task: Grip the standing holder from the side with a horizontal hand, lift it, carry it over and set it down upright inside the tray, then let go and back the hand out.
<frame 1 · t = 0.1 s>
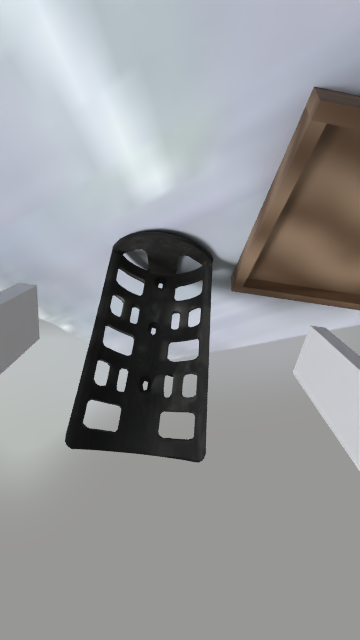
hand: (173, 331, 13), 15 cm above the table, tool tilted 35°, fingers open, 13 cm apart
tray: (354, 228, 25), on the table
holder: (165, 260, 31), on the table
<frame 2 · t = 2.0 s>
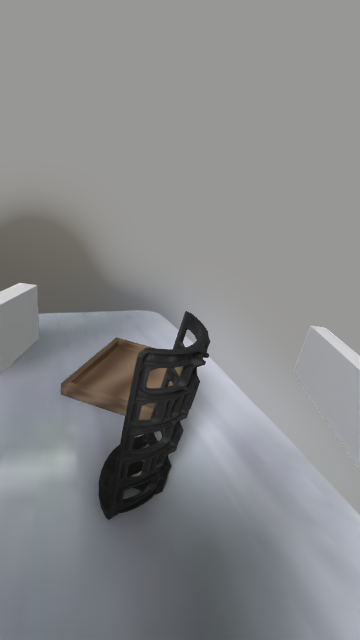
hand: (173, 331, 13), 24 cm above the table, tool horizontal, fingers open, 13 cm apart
tray: (137, 379, 49), on the table
holder: (141, 477, 32), on the table
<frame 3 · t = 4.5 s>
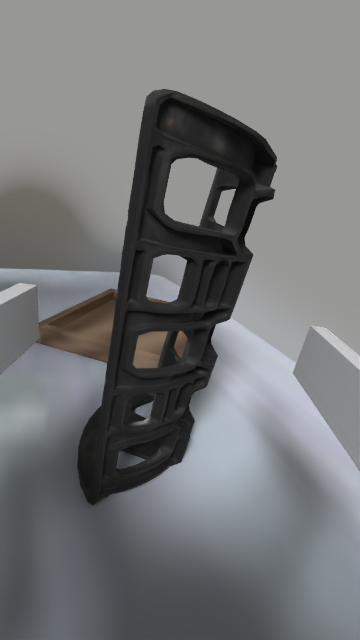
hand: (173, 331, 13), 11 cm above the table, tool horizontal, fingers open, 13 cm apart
tray: (137, 331, 37), on the table
holder: (146, 442, 20), on the table
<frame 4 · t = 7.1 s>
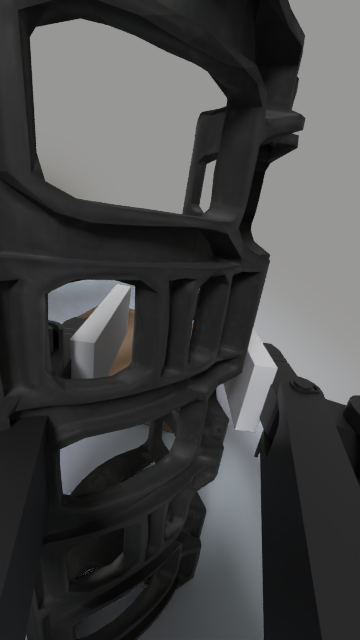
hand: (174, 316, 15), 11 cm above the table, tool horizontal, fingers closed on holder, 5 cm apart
tray: (133, 357, 31), on the table
holder: (141, 541, 14), on the table, touching gripper
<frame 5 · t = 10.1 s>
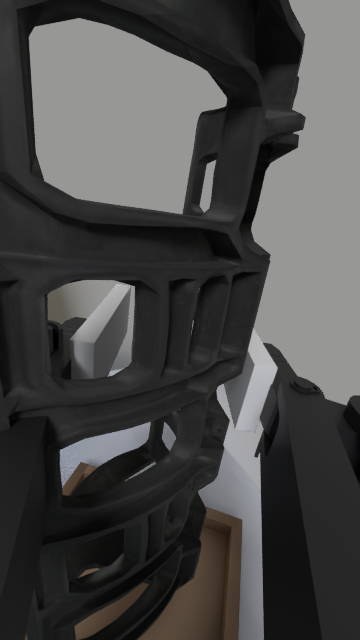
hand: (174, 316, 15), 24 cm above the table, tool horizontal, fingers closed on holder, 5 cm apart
tray: (116, 611, 21), on the table
holder: (141, 541, 14), point 13 cm above the table, touching gripper
when the fingers open (13 cm above the table, at t = 13.2 s): holder drops 2 cm, resting on tray.
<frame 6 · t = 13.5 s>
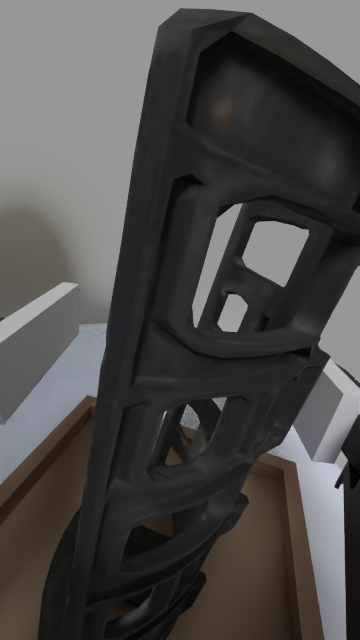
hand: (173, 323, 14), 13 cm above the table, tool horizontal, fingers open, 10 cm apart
tray: (138, 566, 15), on the table
holder: (142, 565, 15), resting on tray
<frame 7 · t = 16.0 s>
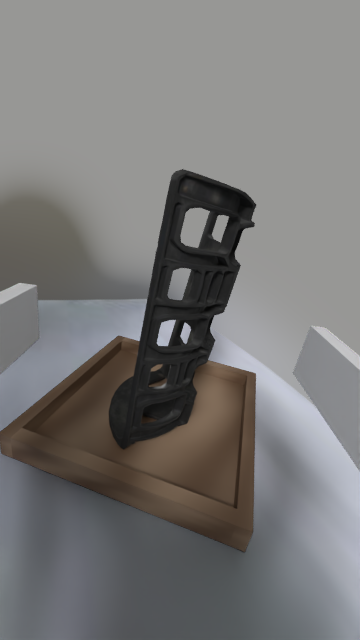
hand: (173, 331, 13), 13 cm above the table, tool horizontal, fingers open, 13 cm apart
tray: (157, 412, 26), on the table
holder: (159, 410, 26), resting on tray
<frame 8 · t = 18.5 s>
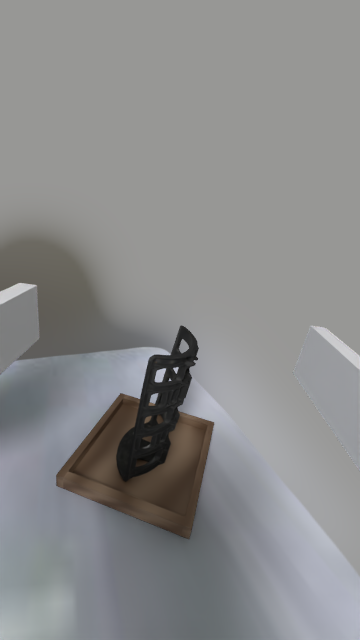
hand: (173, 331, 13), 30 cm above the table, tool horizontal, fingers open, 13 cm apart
tray: (146, 454, 42), on the table
holder: (147, 453, 41), resting on tray
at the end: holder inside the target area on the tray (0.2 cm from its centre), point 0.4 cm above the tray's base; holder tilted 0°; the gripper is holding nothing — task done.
